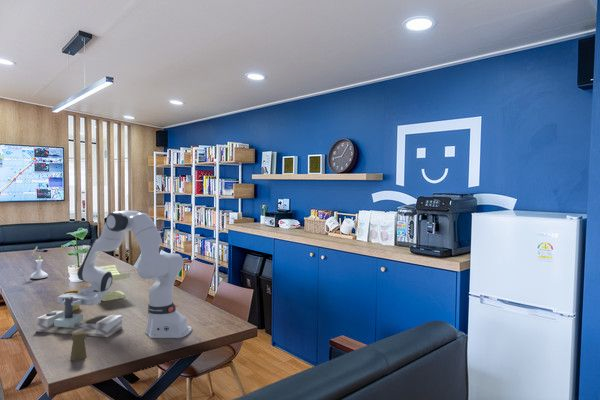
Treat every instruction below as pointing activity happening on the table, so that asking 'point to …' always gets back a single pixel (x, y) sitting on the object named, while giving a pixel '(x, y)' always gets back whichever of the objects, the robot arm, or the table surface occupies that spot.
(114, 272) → the slatted curved stool
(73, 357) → the olive brown pepper mill
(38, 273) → the flower in vase
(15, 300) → the table surface
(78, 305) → the plant pot
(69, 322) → the carriage
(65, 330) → the rail track
